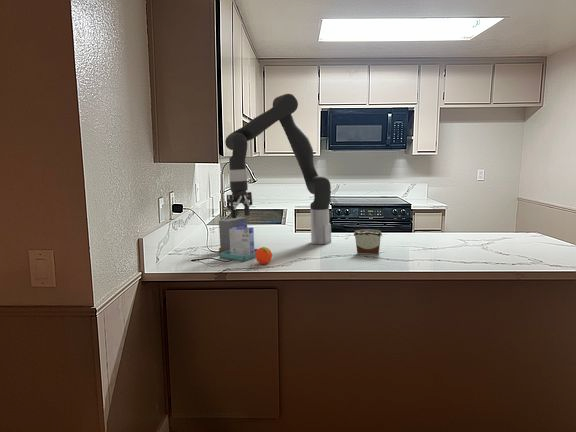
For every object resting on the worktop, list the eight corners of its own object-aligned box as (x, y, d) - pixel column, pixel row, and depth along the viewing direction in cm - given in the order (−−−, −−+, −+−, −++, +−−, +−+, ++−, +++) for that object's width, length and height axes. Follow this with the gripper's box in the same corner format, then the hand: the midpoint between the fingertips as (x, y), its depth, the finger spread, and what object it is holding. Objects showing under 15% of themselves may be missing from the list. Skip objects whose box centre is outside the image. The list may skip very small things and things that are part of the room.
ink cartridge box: (255, 253, 184) (253, 222, 182) (250, 256, 179) (249, 224, 177) (235, 253, 187) (233, 221, 185) (230, 255, 182) (228, 223, 180)
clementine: (276, 264, 167) (276, 247, 166) (261, 267, 163) (261, 250, 162) (267, 260, 173) (266, 244, 172) (252, 263, 170) (251, 246, 169)
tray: (264, 254, 184) (264, 249, 184) (244, 261, 173) (244, 256, 173) (241, 251, 193) (240, 246, 192) (220, 258, 181) (219, 253, 181)
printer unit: (249, 247, 200) (248, 217, 198) (230, 253, 188) (228, 221, 186) (238, 246, 204) (237, 216, 202) (219, 252, 192) (217, 220, 190)
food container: (383, 251, 182) (383, 229, 181) (382, 254, 176) (382, 232, 175) (356, 250, 186) (355, 228, 185) (353, 253, 180) (353, 231, 179)
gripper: (233, 181, 170) (236, 219, 172) (255, 178, 181) (257, 214, 184) (220, 181, 174) (223, 218, 177) (242, 178, 186) (244, 214, 188)
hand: (240, 216), depth 180 cm, fingers open, 8 cm apart
